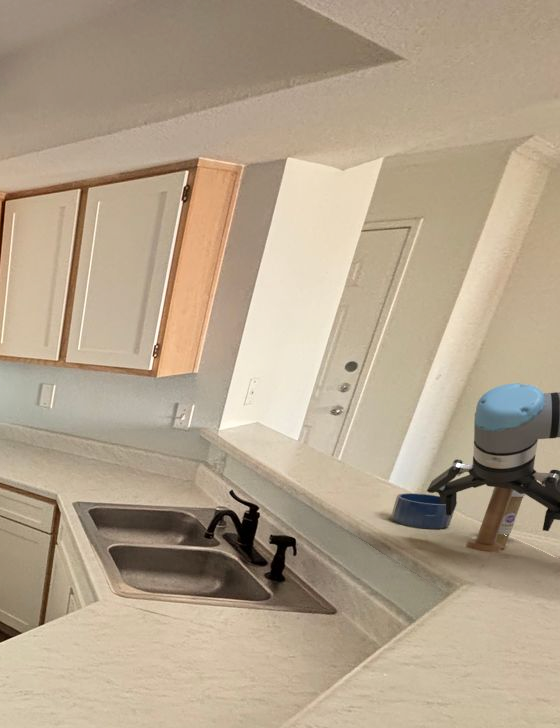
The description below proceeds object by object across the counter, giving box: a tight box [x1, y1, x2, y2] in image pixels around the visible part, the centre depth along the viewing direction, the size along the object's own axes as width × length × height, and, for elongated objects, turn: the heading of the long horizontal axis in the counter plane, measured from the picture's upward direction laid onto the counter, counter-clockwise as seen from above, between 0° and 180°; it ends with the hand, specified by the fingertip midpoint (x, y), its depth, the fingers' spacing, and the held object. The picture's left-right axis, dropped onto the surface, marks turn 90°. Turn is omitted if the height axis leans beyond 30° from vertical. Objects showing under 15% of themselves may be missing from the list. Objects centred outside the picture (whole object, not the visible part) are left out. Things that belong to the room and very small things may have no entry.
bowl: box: [390, 492, 458, 530], centre depth 139 cm, size 10×10×6 cm
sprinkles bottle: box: [492, 487, 526, 550], centre depth 122 cm, size 5×5×14 cm
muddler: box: [465, 487, 514, 553], centre depth 117 cm, size 5×5×18 cm
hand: (497, 517), depth 118 cm, fingers open, 13 cm apart
